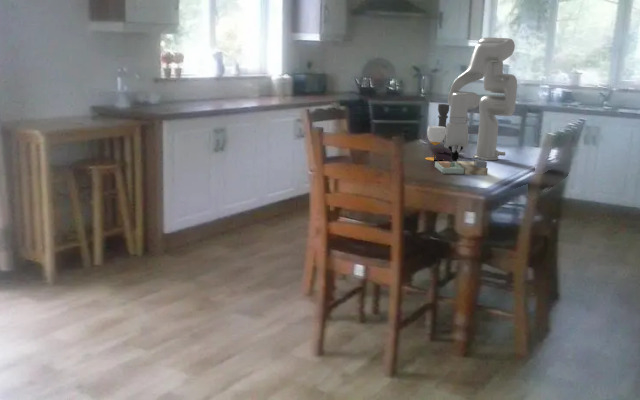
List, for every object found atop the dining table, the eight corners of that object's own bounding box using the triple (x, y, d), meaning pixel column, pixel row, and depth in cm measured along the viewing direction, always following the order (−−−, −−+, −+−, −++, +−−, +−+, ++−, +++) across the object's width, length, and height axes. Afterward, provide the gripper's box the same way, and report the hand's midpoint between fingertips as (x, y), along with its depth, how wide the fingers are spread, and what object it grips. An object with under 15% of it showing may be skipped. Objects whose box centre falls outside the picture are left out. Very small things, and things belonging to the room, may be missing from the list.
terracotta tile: (438, 161, 310) (438, 166, 311) (440, 162, 306) (440, 168, 307) (448, 161, 311) (447, 166, 311) (450, 163, 306) (450, 168, 307)
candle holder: (446, 151, 357) (450, 104, 351) (444, 153, 351) (449, 105, 345) (435, 150, 359) (438, 103, 353) (433, 152, 353) (436, 104, 347)
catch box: (454, 167, 313) (455, 162, 312) (463, 174, 297) (464, 168, 297) (434, 166, 313) (435, 161, 312) (442, 173, 297) (442, 168, 296)
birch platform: (477, 168, 314) (477, 161, 313) (487, 175, 298) (487, 168, 297) (455, 167, 313) (456, 161, 312) (464, 174, 298) (465, 167, 297)
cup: (439, 161, 326) (442, 128, 322) (421, 159, 331) (424, 126, 327) (446, 159, 334) (449, 127, 330) (429, 157, 338) (431, 125, 334)
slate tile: (483, 165, 303) (484, 160, 302) (486, 167, 299) (486, 162, 298) (473, 165, 303) (474, 160, 302) (476, 167, 298) (476, 161, 298)
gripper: (472, 120, 308) (468, 159, 313) (439, 119, 308) (436, 158, 312) (476, 122, 301) (472, 162, 305) (443, 121, 300) (440, 161, 305)
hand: (454, 160), depth 309 cm, fingers closed
